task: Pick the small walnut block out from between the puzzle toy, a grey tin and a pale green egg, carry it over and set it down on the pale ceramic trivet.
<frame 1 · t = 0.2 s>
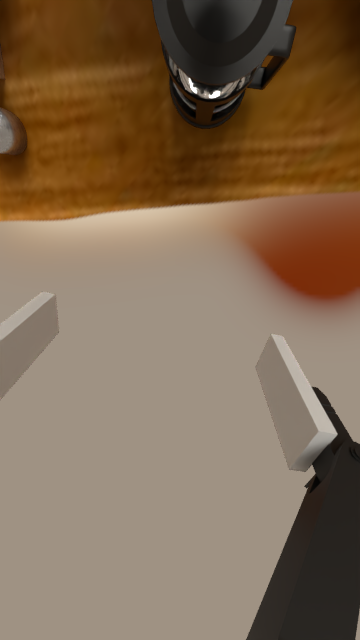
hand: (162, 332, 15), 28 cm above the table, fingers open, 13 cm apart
french press: (212, 81, 30), on the table
grey tin: (8, 132, 33), on the table
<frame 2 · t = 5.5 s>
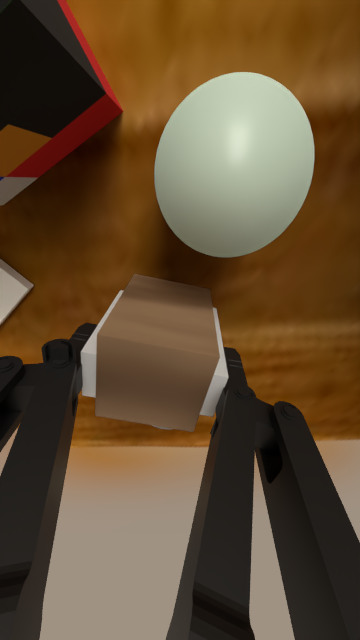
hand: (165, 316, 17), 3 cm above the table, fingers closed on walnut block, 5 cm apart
pale green egg: (214, 180, 15), on the table
walnut block: (166, 314, 17), point 3 cm above the table, touching gripper
when the fingers open (1 cm above the table, at t = 10.3 s): walnut block stays where it is, resting on trivet.
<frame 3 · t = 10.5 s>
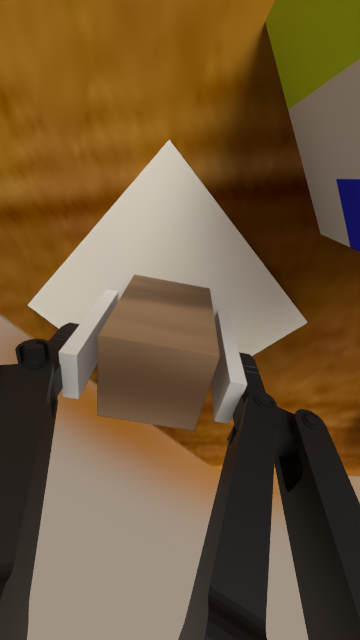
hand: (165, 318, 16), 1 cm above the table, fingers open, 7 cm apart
trivet: (167, 308, 18), on the table
walnut block: (166, 314, 17), point 1 cm above the table, touching trivet
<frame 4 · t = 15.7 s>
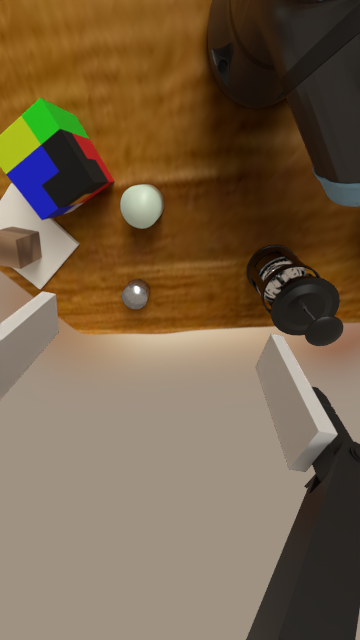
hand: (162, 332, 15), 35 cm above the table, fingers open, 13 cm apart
french press: (273, 268, 48), on the table
puzzle toy: (73, 168, 41), on the table
grey tin: (138, 289, 52), on the table
pale green egg: (147, 203, 43), on the table
trivet: (29, 241, 47), on the table
walnut block: (27, 242, 47), point 1 cm above the table, touching trivet
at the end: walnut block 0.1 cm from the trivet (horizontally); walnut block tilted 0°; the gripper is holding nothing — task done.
